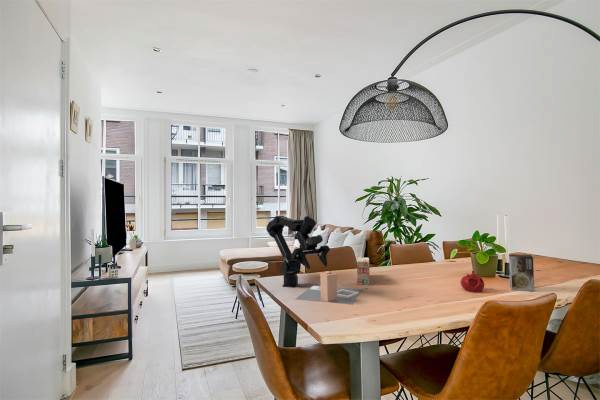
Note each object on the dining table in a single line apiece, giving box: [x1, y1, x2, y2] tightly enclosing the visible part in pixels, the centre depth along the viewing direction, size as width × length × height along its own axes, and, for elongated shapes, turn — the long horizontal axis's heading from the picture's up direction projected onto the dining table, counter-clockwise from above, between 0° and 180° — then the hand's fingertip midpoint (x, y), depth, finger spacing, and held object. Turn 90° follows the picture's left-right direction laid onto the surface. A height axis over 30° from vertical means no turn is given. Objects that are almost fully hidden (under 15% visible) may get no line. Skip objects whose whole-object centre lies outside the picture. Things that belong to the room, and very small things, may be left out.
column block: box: [320, 270, 338, 303], centre depth 142 cm, size 5×5×12 cm
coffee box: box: [508, 253, 535, 292], centre depth 158 cm, size 9×6×16 cm
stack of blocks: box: [356, 256, 371, 286], centre depth 180 cm, size 21×6×12 cm, turn 169°
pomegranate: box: [460, 270, 485, 293], centre depth 157 cm, size 10×10×9 cm
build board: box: [295, 284, 364, 306], centre depth 151 cm, size 25×25×2 cm
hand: (318, 267), depth 149 cm, fingers open, 9 cm apart
